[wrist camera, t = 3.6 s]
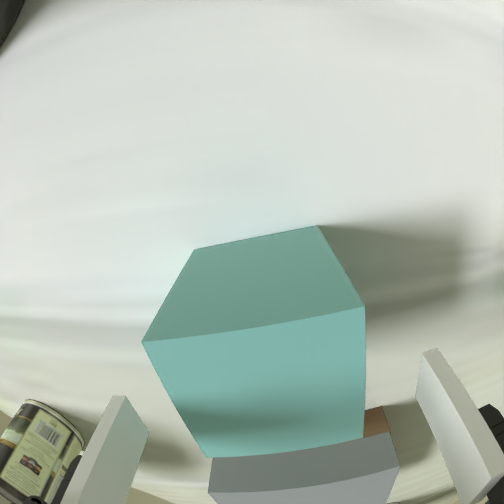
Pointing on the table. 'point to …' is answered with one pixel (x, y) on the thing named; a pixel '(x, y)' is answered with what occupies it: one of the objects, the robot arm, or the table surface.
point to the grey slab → (309, 475)
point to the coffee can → (36, 452)
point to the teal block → (263, 346)
